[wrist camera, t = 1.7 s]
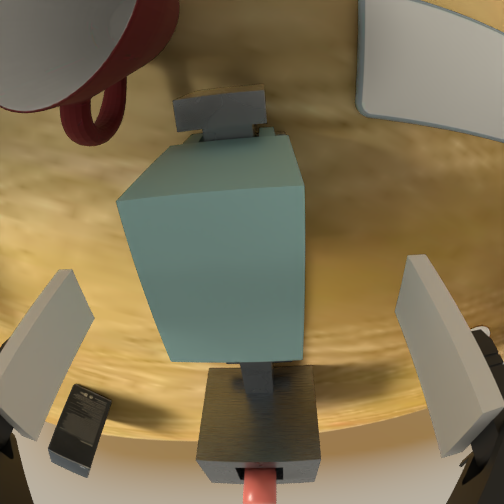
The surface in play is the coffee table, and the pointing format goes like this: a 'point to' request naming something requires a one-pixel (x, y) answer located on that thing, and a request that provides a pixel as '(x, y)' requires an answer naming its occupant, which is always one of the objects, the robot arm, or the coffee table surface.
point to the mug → (78, 57)
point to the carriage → (222, 248)
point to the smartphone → (429, 68)
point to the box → (79, 430)
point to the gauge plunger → (259, 486)
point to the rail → (221, 128)
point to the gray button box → (260, 427)
